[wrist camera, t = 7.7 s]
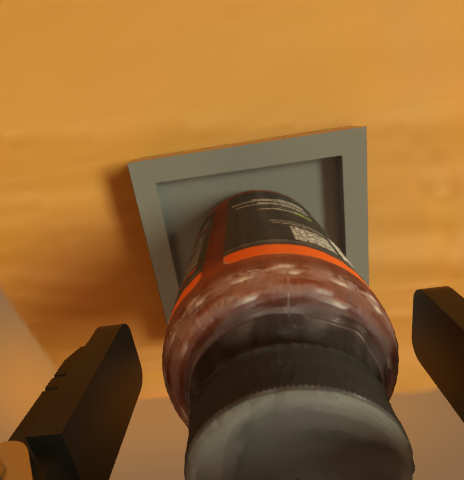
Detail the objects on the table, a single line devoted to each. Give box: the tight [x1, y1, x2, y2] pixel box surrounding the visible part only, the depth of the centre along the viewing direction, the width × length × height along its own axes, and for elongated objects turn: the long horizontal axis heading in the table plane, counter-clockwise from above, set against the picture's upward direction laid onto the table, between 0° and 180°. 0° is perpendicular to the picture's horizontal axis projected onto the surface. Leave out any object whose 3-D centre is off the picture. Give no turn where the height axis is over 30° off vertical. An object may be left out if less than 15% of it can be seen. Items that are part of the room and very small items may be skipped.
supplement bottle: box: [162, 190, 415, 480], centre depth 11 cm, size 6×6×11 cm
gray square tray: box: [127, 126, 369, 326], centre depth 17 cm, size 10×10×2 cm
